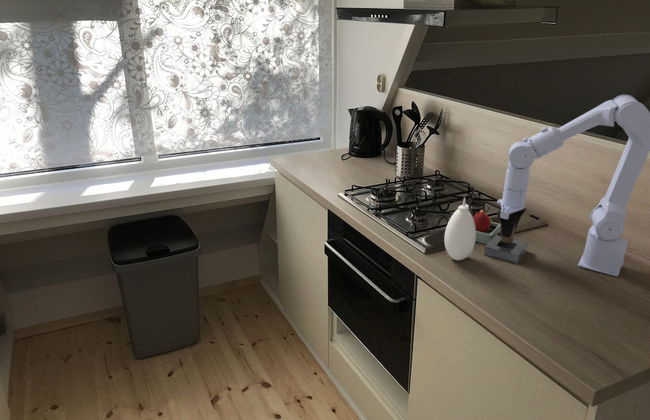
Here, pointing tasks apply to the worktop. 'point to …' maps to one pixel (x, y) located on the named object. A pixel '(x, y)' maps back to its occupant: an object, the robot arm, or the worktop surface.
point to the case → (488, 237)
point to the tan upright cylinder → (508, 240)
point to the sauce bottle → (460, 233)
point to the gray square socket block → (505, 249)
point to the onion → (481, 222)
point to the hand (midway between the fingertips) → (508, 234)
